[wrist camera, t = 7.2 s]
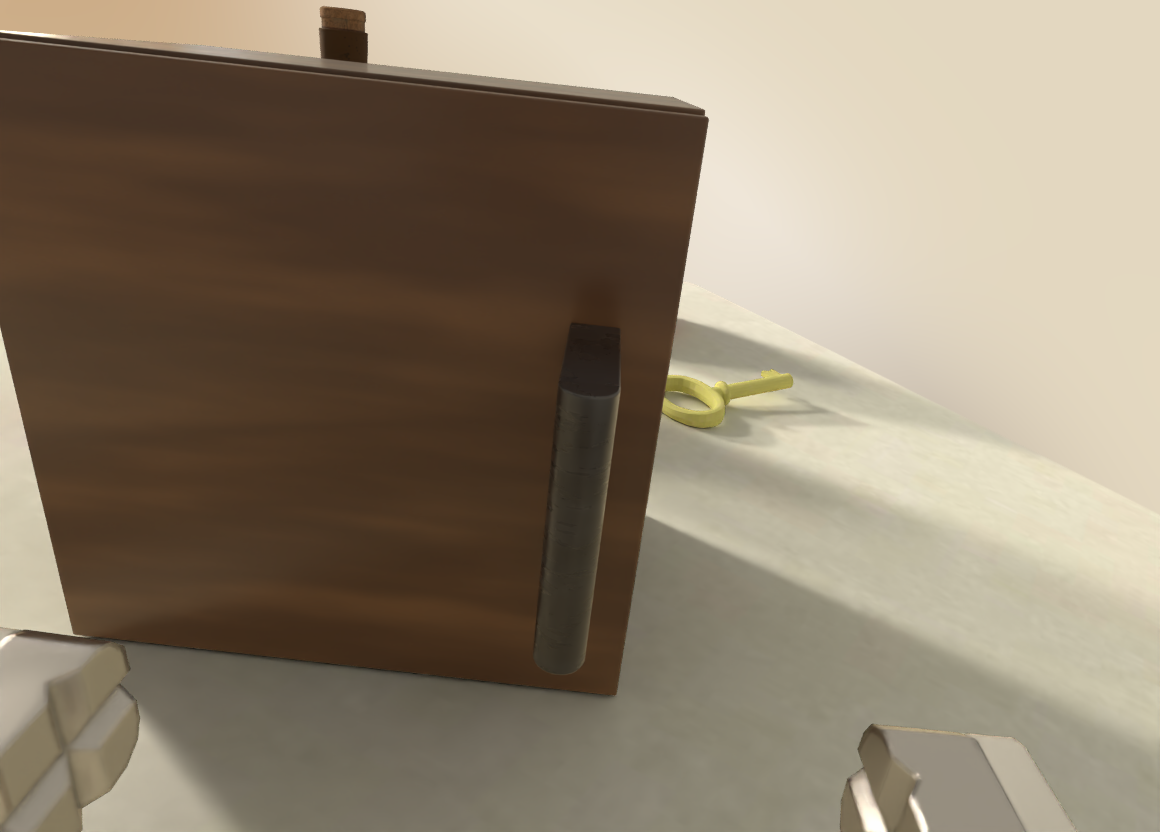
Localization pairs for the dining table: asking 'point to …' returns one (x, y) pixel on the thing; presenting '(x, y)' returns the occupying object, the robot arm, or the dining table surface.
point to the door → (341, 357)
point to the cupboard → (370, 71)
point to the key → (718, 396)
